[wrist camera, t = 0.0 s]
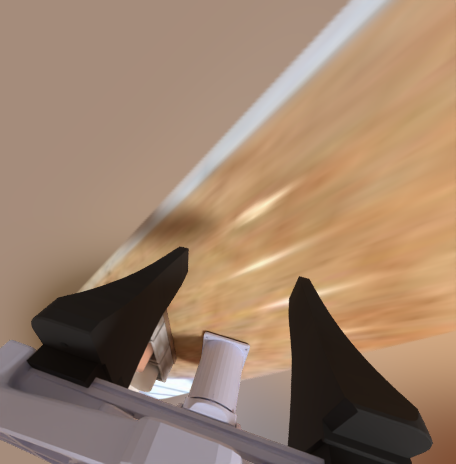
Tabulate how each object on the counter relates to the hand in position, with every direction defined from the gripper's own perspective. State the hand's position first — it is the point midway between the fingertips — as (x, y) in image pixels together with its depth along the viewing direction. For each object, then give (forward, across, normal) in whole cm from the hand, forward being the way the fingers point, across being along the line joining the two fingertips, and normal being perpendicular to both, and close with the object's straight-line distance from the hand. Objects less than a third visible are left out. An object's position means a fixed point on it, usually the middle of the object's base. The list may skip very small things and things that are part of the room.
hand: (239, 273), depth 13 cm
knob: (+7, +13, +34) cm, 37 cm away
